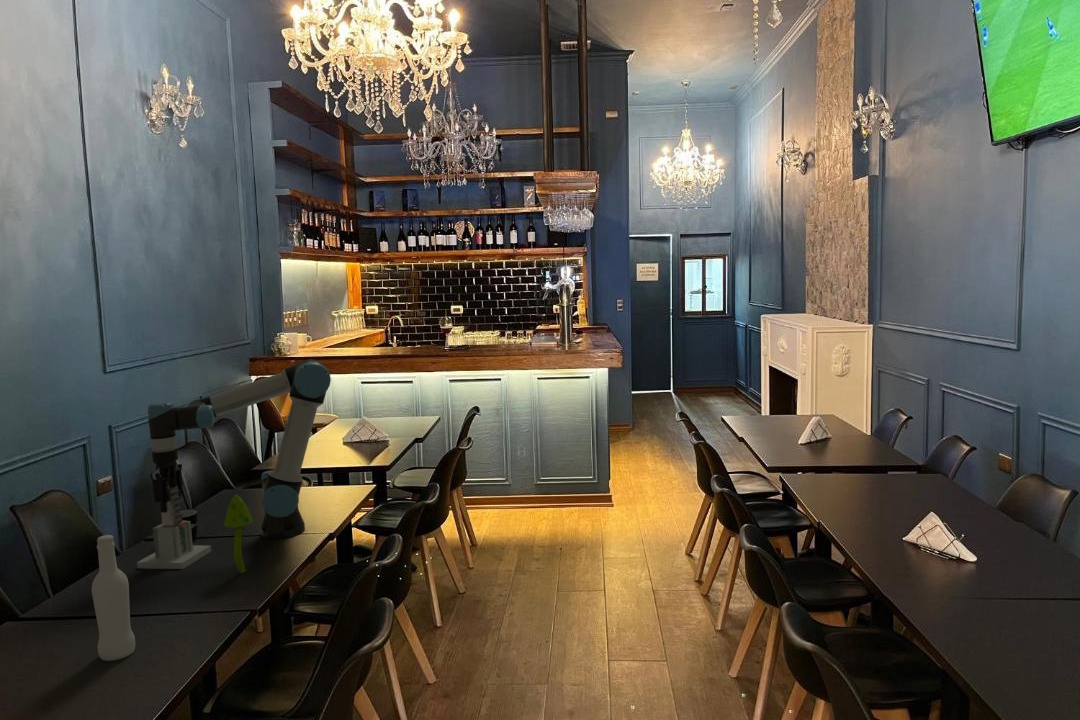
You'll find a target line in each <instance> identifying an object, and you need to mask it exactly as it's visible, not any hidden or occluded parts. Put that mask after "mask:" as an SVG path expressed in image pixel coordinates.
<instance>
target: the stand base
mask: <svg viewBox="0 0 1080 720" xmlns="http://www.w3.org/2000/svg"><path fill="white" fill-rule="evenodd" d="M182 527H183V528H182ZM179 528H182V531H184V534H183V535H182V536H183V537H184V538H185V540H183V543H185V546H184V551H182V552H181V542H180V532H179ZM152 535H153V543H154V544H153V545H154V552H153V553H152V554H150V555H148V556H146V557H143V558H142V559H141V560H139V561H137V562H136V565H137V569H158V570H163V569H164V570H171V569H172V570H184V569H185V568H187V567H188V566H191V564H193V563H195V562H196V561H198V560H199V559H201V558H203V557H205V556H206V555H208V554H209V553H211V552H212V545H195V544H194V543H193V542H192V533H191V523H190V521H183V522H182V523H180V524H179V527H176V528H174V527H163V525H162V523H161V524H159V525H157V526H155V527H152ZM193 544H194V545H193Z"/></svg>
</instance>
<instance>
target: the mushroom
mask: <svg viewBox="0 0 1080 720" xmlns="http://www.w3.org/2000/svg"><path fill="white" fill-rule="evenodd" d="M225 514H226V515H225V518H224V521H223V522H224V523H223V526H224V527H226V528H235V532H234V541H233V558H234V562H235V565H236V567H237V570H238V572H239V574H245V573H244V572H246V573H247V569H246V567H245V563H244V560H243V559H244V558H243V553H242V535H243V527H244V526H248V525H251V524H252V523H253V522H254V520H253V516H252V514H251V512H250V510H249V508H248V506H247V505H246V503H245V502H244V500H243V499H242V497H240V496H239V495H238V494H235V495H234V496H233V497H232V499H231V501H230V502H229V505H228V507H227V510H226V513H225Z"/></svg>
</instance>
